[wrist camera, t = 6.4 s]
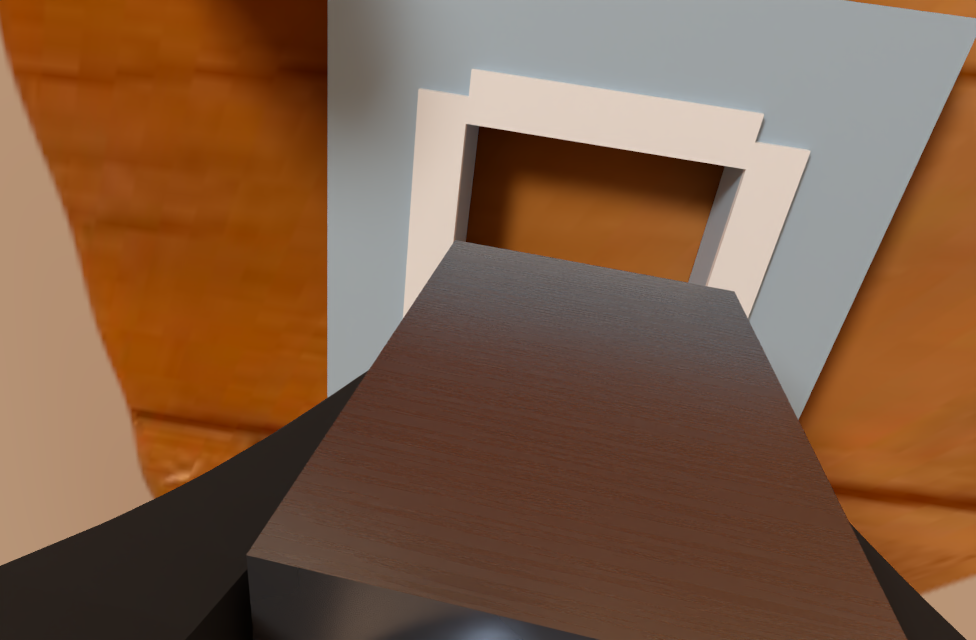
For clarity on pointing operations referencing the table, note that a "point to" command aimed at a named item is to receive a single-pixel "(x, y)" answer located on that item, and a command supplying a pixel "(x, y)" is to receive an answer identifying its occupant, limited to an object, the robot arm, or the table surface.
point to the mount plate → (635, 140)
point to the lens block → (565, 477)
